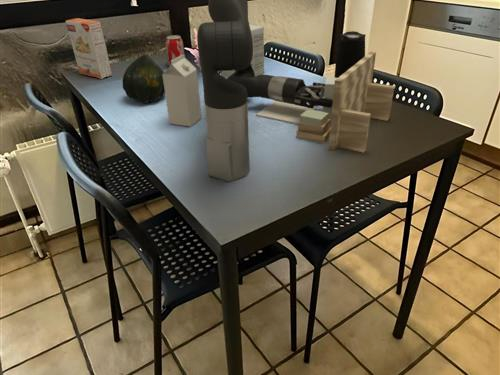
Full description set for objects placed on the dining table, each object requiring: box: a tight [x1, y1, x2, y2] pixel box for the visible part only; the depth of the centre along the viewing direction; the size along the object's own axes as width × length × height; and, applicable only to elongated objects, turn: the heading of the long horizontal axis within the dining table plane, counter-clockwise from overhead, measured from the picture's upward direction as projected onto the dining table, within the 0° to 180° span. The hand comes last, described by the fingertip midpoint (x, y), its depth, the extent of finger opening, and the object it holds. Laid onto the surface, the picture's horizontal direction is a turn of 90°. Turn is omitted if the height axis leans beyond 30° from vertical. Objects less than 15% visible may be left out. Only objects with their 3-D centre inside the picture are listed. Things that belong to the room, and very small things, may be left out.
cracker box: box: [65, 17, 113, 79], centre depth 155 cm, size 14×6×21 cm, turn 55°
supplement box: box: [221, 24, 265, 79], centre depth 152 cm, size 13×13×18 cm
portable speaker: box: [334, 30, 367, 78], centre depth 130 cm, size 9×9×20 cm
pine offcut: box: [296, 126, 331, 144], centre depth 109 cm, size 6×8×2 cm
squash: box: [122, 54, 165, 104], centre depth 134 cm, size 14×15×15 cm
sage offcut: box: [300, 109, 329, 127], centre depth 106 cm, size 5×6×2 cm
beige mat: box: [255, 100, 318, 126], centre depth 124 cm, size 14×14×1 cm
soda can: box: [165, 34, 185, 67], centre depth 165 cm, size 7×7×12 cm
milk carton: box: [162, 53, 202, 127], centre depth 115 cm, size 7×7×19 cm
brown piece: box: [328, 51, 396, 154], centre depth 106 cm, size 28×8×18 cm, turn 149°
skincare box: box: [322, 76, 337, 125], centre depth 114 cm, size 6×4×12 cm
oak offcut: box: [297, 119, 331, 136], centre depth 108 cm, size 6×7×2 cm
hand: (337, 98), depth 113 cm, fingers open, 8 cm apart
